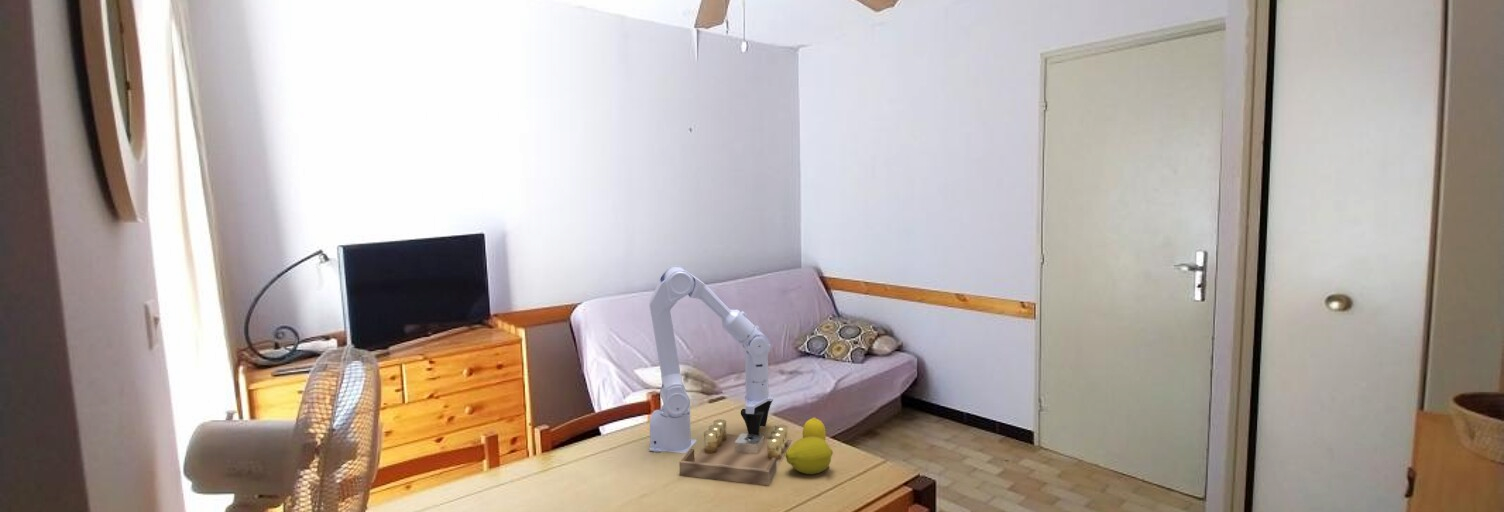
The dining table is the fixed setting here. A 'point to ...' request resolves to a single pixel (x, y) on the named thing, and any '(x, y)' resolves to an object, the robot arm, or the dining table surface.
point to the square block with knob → (749, 443)
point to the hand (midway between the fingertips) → (757, 431)
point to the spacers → (719, 434)
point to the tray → (732, 464)
